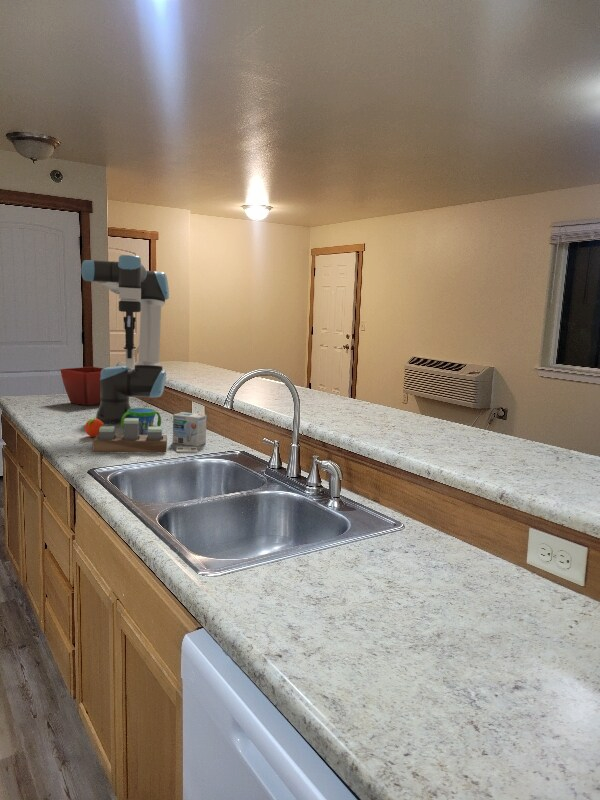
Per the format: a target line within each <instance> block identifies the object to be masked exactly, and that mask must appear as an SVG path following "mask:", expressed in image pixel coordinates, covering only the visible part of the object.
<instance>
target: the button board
mask: <svg viewBox="0 0 600 800" xmlns="http://www.w3.org/2000/svg"><path fill="white" fill-rule="evenodd" d="M167 448H168V434H162V440H148V435H139V438H138V440H124V434H115V439H99V435H96V437H93V440H92V453H93V452H95V453H96V452H166V453H167Z"/></svg>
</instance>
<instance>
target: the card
mask: <svg viewBox="0 0 600 800" xmlns="http://www.w3.org/2000/svg"><path fill="white" fill-rule="evenodd" d="M177 452H180V453H181V454H182V453H183V454H184V453H186V454H187V453H189V454H193V453H195V454H197V453H198V446H176V453H177Z"/></svg>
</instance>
